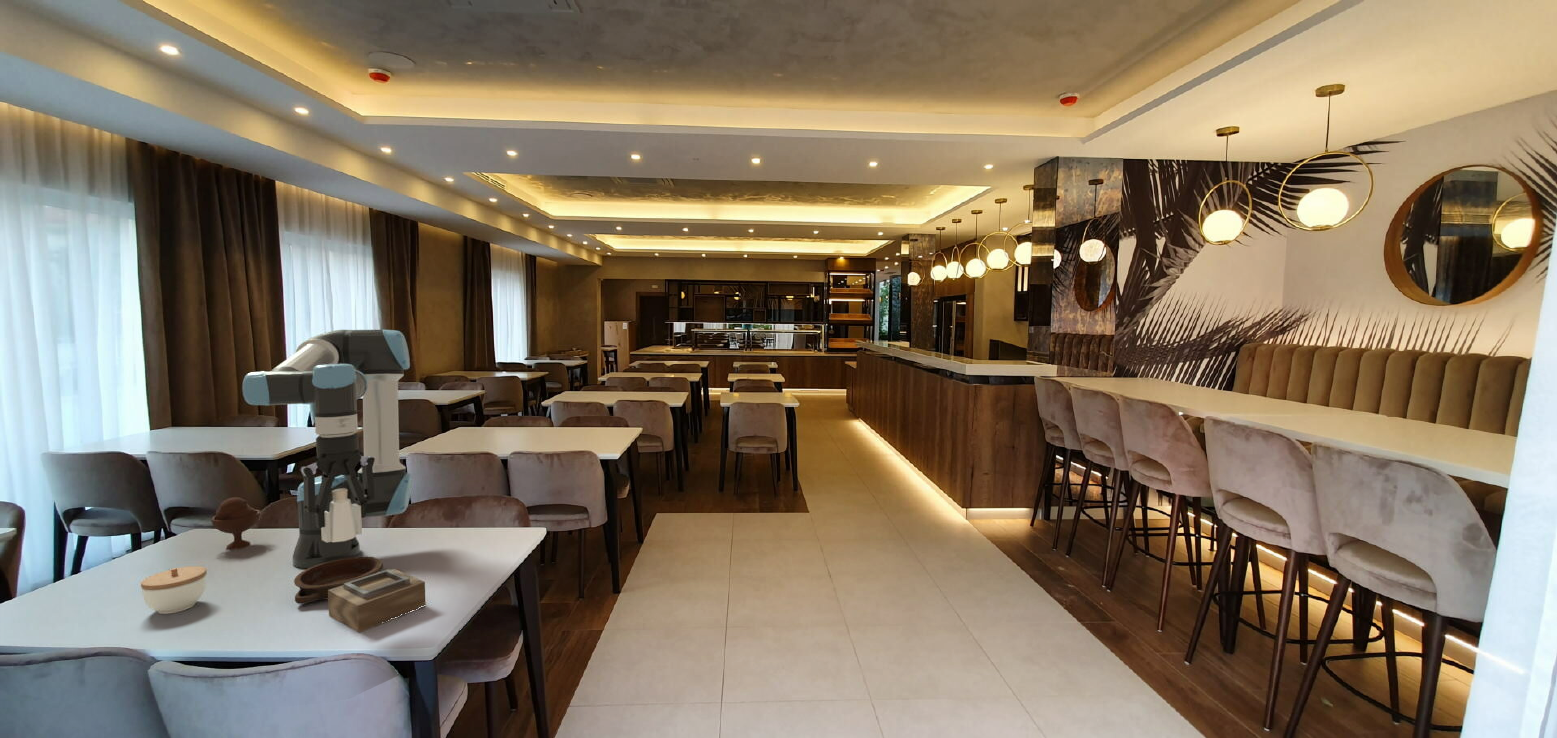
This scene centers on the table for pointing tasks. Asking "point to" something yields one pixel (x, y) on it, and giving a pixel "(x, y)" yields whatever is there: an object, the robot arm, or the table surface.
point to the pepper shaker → (341, 517)
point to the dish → (333, 576)
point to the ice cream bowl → (235, 520)
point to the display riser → (375, 599)
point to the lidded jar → (174, 589)
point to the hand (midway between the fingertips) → (342, 536)
